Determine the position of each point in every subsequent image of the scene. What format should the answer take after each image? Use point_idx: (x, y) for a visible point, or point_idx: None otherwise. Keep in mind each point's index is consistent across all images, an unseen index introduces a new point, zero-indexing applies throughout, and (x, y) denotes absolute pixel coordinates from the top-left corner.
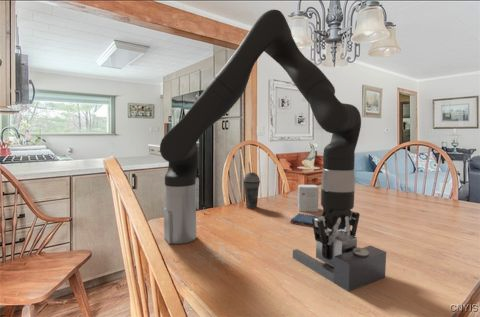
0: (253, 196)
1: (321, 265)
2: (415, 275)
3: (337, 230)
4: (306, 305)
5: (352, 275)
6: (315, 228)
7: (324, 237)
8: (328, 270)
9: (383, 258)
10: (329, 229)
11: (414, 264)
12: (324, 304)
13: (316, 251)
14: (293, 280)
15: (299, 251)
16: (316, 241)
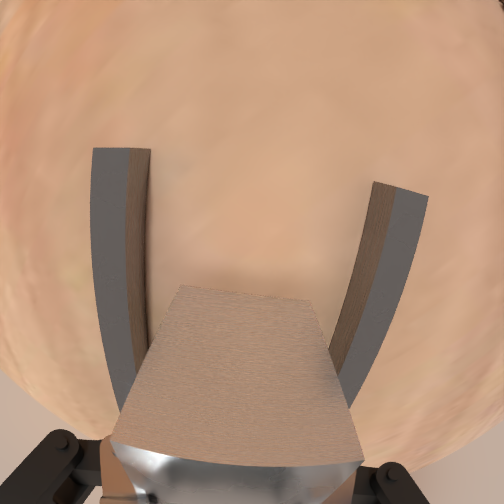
0: None
1: (116, 373)
2: (372, 456)
3: (313, 500)
4: (25, 381)
5: None
6: (9, 498)
7: (75, 494)
8: (118, 402)
9: None
10: (283, 482)
11: (435, 426)
12: (58, 405)
13: (170, 309)
14: (25, 306)
15: (112, 192)
16: (148, 354)
